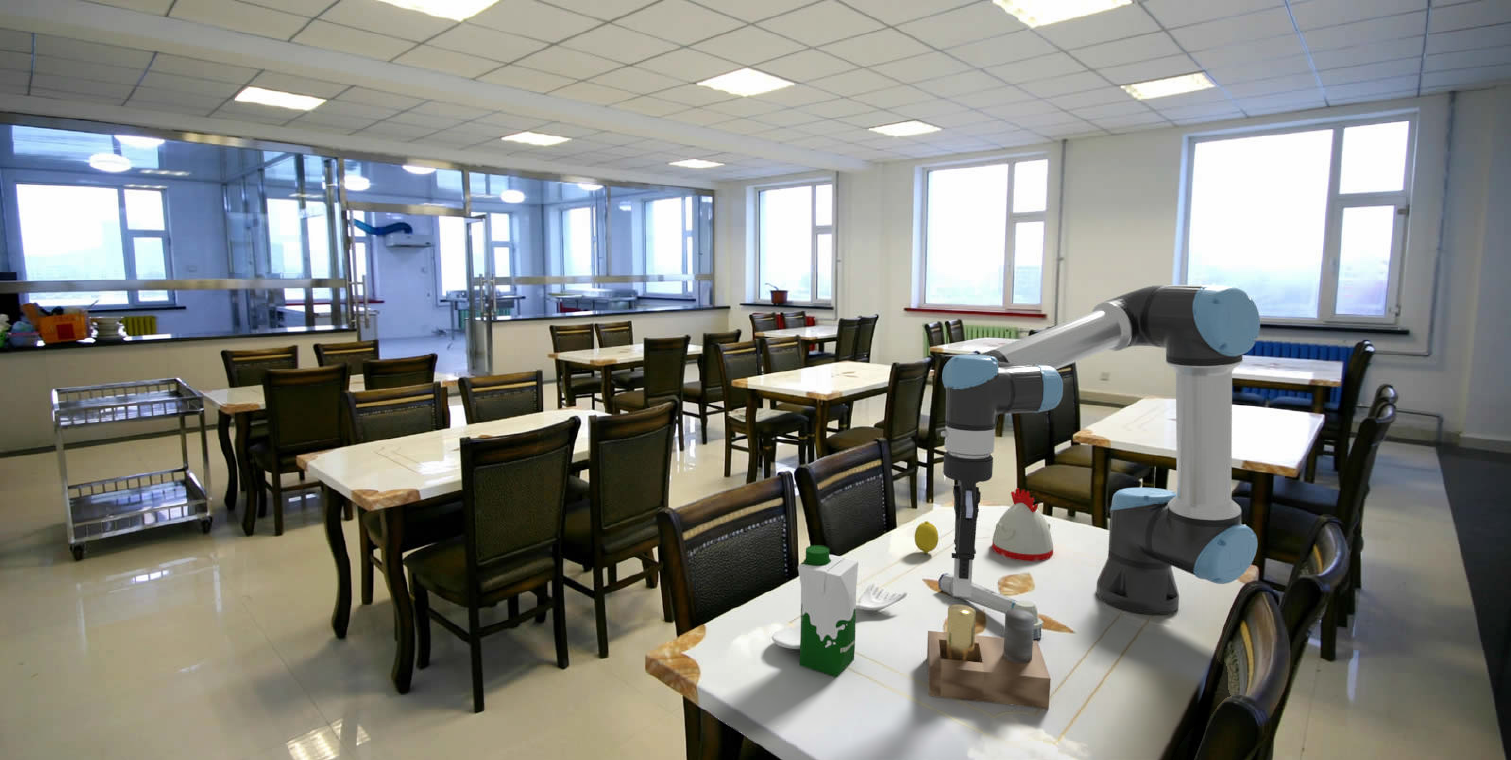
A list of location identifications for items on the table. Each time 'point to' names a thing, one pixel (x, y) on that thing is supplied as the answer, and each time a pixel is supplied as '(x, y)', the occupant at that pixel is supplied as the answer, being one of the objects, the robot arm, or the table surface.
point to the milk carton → (827, 610)
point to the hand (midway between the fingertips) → (961, 594)
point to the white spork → (866, 602)
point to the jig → (993, 667)
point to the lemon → (926, 537)
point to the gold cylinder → (960, 633)
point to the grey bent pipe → (993, 600)
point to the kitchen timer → (1023, 531)
